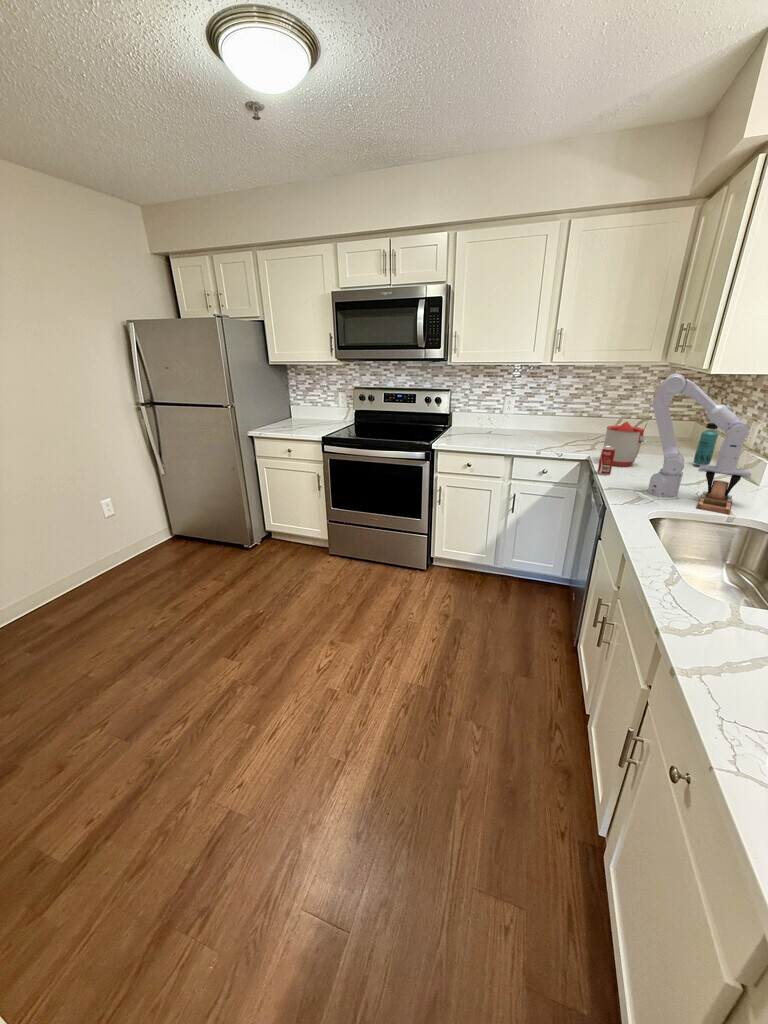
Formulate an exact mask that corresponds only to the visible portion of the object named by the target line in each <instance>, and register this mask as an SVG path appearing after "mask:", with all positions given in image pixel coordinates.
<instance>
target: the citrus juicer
mask: <svg viewBox="0 0 768 1024" xmlns="http://www.w3.org/2000/svg"><path fill="white" fill-rule="evenodd" d="M644 432H645V429H644V428H642V427H639V426H638V427H637V426H632V425H631V424H630V423H629V422H628V421H624V422H623V423H622V424H620V425H608V426H607V427H606V432H605V438H604V443H603V447H604V446H611V447H615V448H614V449H615V454H614V459H613V464H612V466H616V467H629V466H632V465H633V464H634V462H635V461H636V459H637V457H638V456H639V453H640V449H641V445H642V443H644V444H645V443H647V438H646V437H645V436H644Z"/></svg>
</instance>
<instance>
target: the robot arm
mask: <svg viewBox="0 0 768 1024" xmlns="http://www.w3.org/2000/svg"><path fill="white" fill-rule="evenodd" d="M679 393H680V394H681V395H682V396H687V397H690V398H692V399H694V401H695V402H697V403H698V404H699V405H700V406H701V407H703V409H705V410H706V411H707V415H706V417H707V419H709V420H710V421H711V422H712V423H714V424H715V425H717V426H718V428H719V430H721V431H724V433H725V435H724V439H723V441H722V443H721V446H720V450H719V453H718V456H717V460H716V464H715V465H701V464H699V467H698V471H697V472H704V473H705V478H706V481H707V492H708V493H710V491H711V487H712V484H713V481H714V480H715V479H714V478H715V475H716V474H720V475H726V476H731V477H730V481H729V482H728V483H729V484H728V488H727V491H726V494H725V496H728V495H729V494H730V492H731V490H733V487H735V486H736V484H737V483H739V482H740V480H741V478H746V479H751V476H752V474H753V473H752V471H748V470H743V469H737V466H738V463H739V459H740V457H741V453H742V452H743V447H744V442H745V438H747V437H748V436H749V435H750V430H749V427H748V425H747V424H746V423H745V421H743V418H742V417H741V416H737V415H736V414H735V413H734V412H733V411H732V407H731V406H730V405H727V406H726V405H725V404H717V403H716V402H715V401H714V400H713V399H712V398H711V397H710V396H709V395H707V393H706V392H705V391H703V390H702V389H701V387H699V385H698V384H696V383H695V382H693V381H691V379H688V378H685V376H684V375H683V374H680V373H672V374H670V375H668V376H667V377H666V378H665V379H664V380H663V381H662V382H661V384H660V385H659V388H658V389H657V392H656V394H655V396H654V398H653V400H652V403H651V404H652V409H653V412H654V418H655V422H656V424H657V429H658V430H657V431H658V434H659V439H660V442H661V447H662V452H663V465H662V468H660V470H659V471H658V472H656V473H653V474H652V475H651V476H650V479H649V484H648V487H647V493H648V494H651V495H654V496H656V497H658V498H660V497H661V498H665V497H670V498H671V497H672V498H674V497H677V496H678V493H679V491H680V486H681V482H682V480H683V475H684V472H683V470H684V469H685V458H684V456H683V455H682V454H681V452H680V450H679V447H678V443H677V438H676V433H675V429H674V425H673V420H672V416H671V411H670V406H669V404H670V402H671V401H672V399H674V397H676V395H678V394H679Z"/></svg>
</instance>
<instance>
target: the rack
mask: <svg viewBox="0 0 768 1024" xmlns="http://www.w3.org/2000/svg"><path fill="white" fill-rule="evenodd" d="M709 494H710V493H708V491H704V490H703V491H702V494H700V496H699V498H698V501H697V504H696V506H695V509H696V510H702V511H707V512H711V513H712V512H713V513H717V514H722V515H728V516H730V515H731V510H732V505H733V499H732V498H733V497H732V495H729V494H728V496H725V497H724V500H720V499H714V498H708V497H709Z"/></svg>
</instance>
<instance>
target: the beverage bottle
mask: <svg viewBox="0 0 768 1024" xmlns="http://www.w3.org/2000/svg"><path fill="white" fill-rule="evenodd" d="M705 428H706V430H702V432H701V435H700V437H699V438H700V439H699V441H698V445H697V446H696V450H695V453H694V454H695V455H694V458H693V463H694V464H696V465H705V466H710V463H711V462H712V458H713V455H714V450H715V446H716V444H717V441H718V437H719V433H718V432H717V431H716V430H717V429H718V428H719V427H718V426H717V425H715V424H714V423H713V422H712V423H711V422H709V423H708V422H707V424H706V427H705ZM709 429H710V430H709Z"/></svg>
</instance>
